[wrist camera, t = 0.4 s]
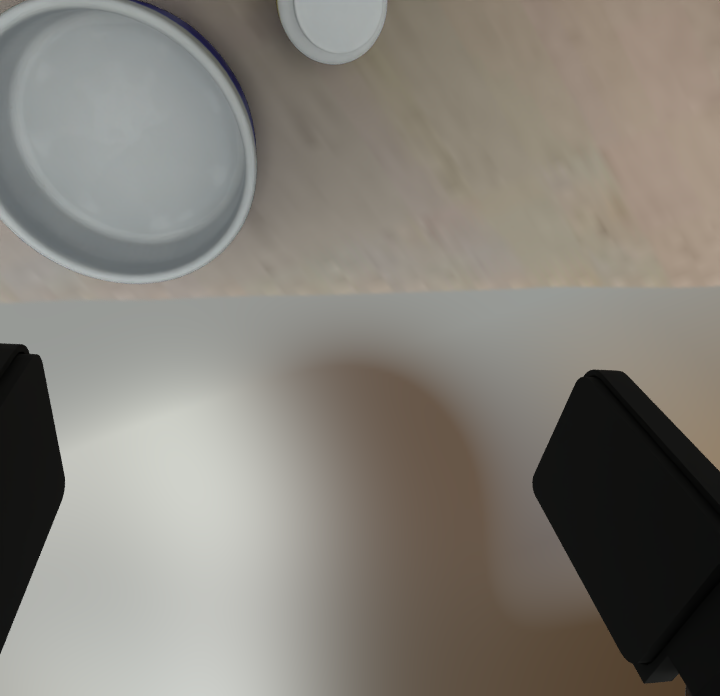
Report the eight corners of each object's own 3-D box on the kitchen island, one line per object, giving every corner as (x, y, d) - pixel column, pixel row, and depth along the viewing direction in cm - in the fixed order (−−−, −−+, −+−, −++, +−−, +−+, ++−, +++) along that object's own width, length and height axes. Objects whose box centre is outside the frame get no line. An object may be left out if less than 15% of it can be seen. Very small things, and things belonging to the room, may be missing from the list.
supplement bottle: (288, -73, 29) (298, -101, 21) (379, -33, 31) (420, -44, 23) (264, 34, 32) (265, 46, 24) (349, 67, 34) (376, 88, 26)
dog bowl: (153, 288, 40) (137, 329, 35) (-55, 122, 32) (-113, 144, 27) (305, 149, 36) (311, 173, 31) (111, -77, 28) (78, -94, 23)
